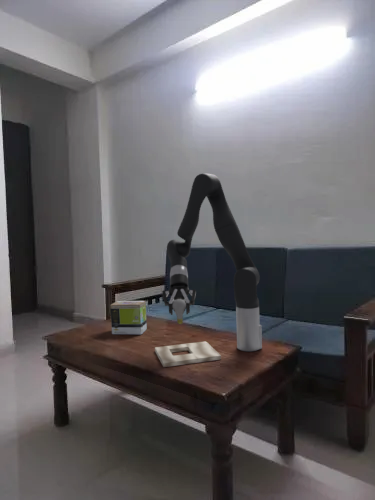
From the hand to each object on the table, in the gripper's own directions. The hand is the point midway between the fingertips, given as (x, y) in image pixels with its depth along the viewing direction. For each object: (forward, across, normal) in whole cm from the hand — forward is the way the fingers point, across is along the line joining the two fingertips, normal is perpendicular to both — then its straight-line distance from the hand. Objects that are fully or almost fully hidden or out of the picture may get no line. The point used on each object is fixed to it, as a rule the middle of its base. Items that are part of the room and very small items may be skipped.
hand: (179, 313), depth 138 cm
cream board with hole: (+11, +2, +13) cm, 17 cm away
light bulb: (+2, 0, +5) cm, 5 cm away
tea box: (-13, -26, +38) cm, 48 cm away
